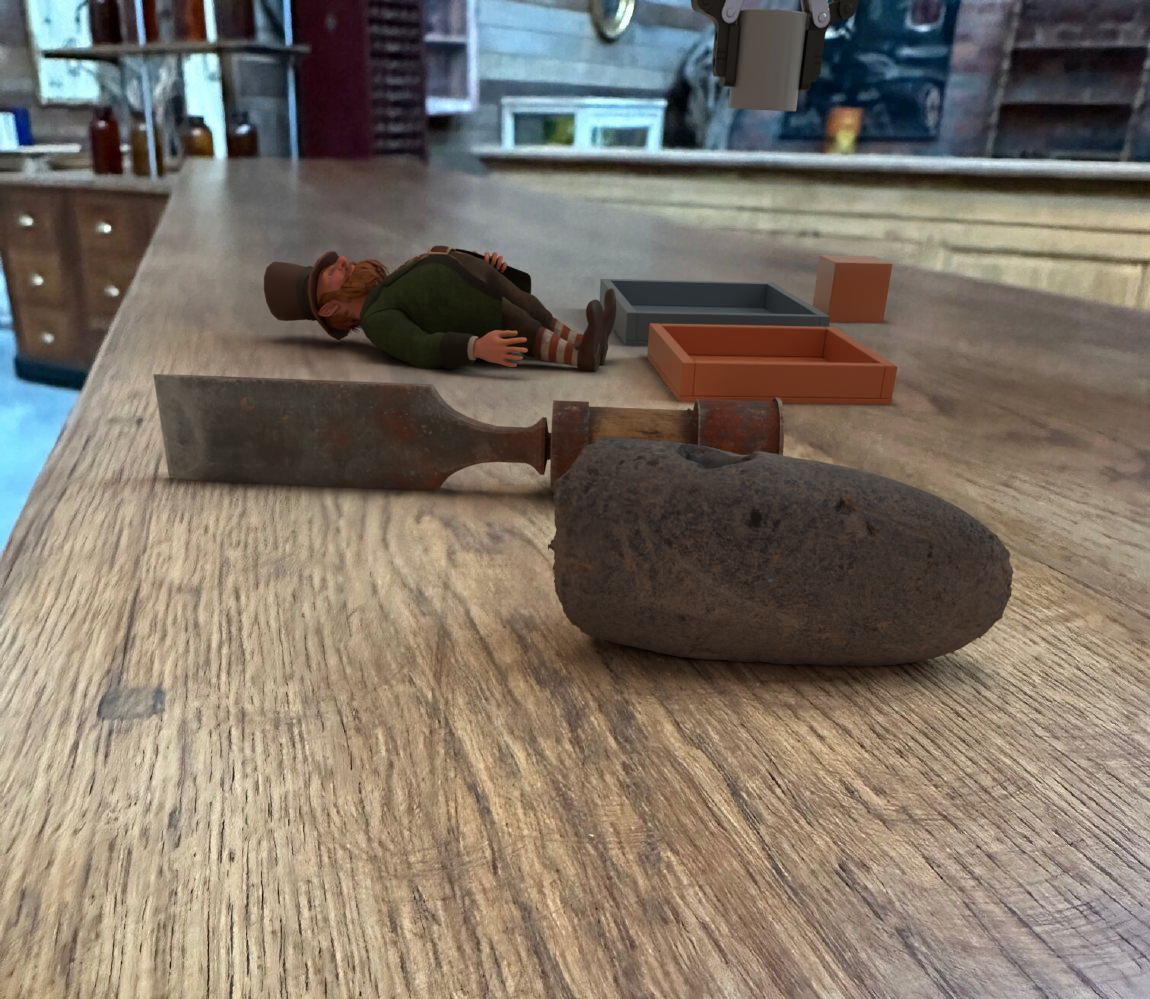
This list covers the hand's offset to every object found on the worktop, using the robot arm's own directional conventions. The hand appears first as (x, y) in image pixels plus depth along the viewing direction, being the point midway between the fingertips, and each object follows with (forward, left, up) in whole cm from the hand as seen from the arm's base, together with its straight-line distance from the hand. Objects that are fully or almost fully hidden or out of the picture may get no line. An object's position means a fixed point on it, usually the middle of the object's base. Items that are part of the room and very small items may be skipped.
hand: (764, 87), depth 82 cm
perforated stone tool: (+12, +60, -17) cm, 64 cm away
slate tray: (+2, -3, -17) cm, 18 cm away
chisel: (+22, +42, -17) cm, 51 cm away
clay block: (-12, -9, -17) cm, 23 cm away
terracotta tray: (+2, +17, -17) cm, 24 cm away
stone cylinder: (0, 0, -1) cm, 1 cm away
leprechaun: (+24, +11, -17) cm, 32 cm away
